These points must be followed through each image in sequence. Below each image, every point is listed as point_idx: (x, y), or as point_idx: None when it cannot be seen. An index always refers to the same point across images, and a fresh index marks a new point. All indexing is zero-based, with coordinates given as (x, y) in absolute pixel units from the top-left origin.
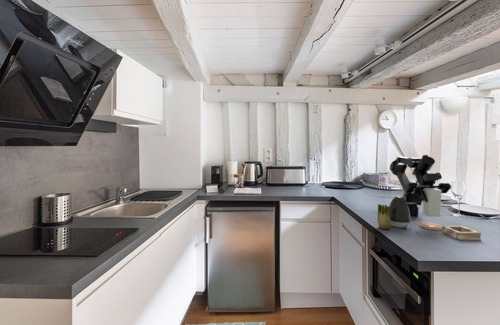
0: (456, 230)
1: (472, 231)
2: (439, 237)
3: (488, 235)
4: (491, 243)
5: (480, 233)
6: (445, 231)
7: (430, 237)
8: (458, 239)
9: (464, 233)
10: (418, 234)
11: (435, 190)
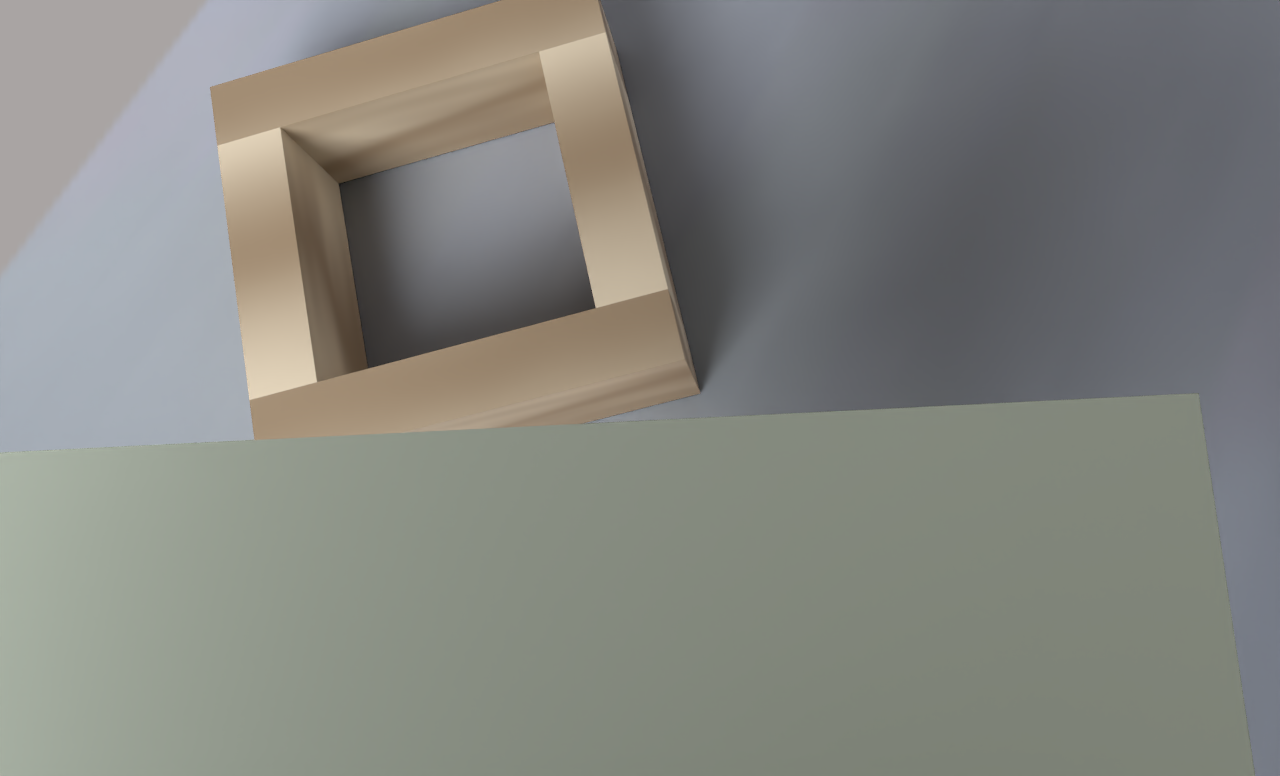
0: (556, 117)
1: (287, 157)
2: (889, 93)
3: (2, 391)
4: (231, 26)
5: (220, 94)
6: (676, 300)
7: (1057, 52)
8: (618, 61)
9: (502, 6)
10: (1234, 162)
11: (489, 455)
